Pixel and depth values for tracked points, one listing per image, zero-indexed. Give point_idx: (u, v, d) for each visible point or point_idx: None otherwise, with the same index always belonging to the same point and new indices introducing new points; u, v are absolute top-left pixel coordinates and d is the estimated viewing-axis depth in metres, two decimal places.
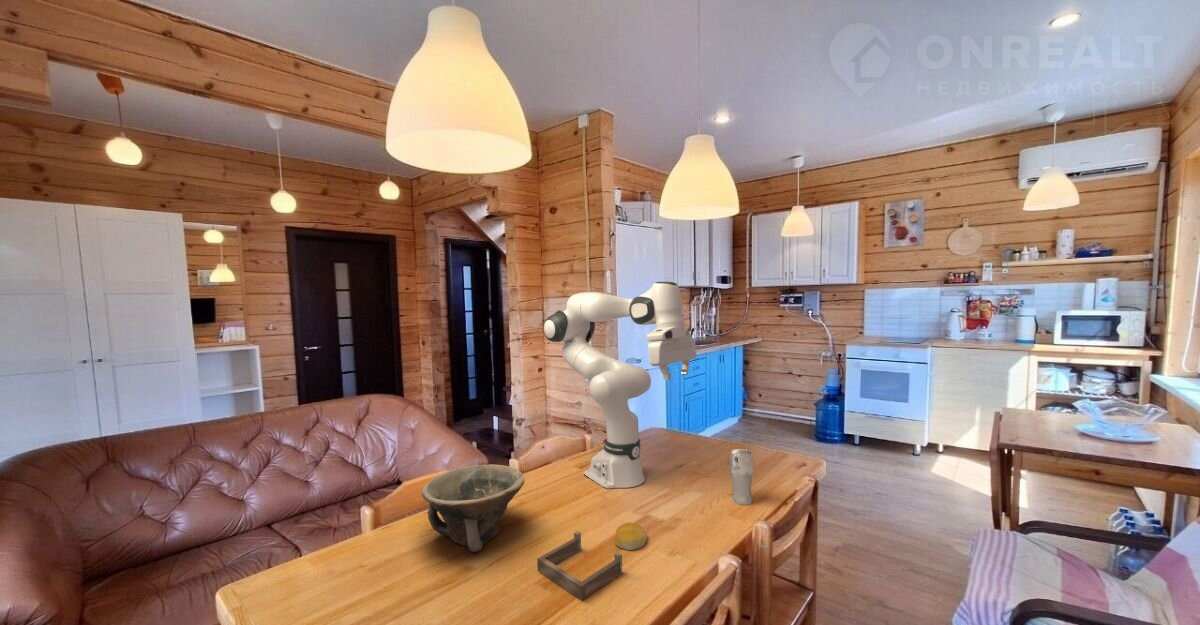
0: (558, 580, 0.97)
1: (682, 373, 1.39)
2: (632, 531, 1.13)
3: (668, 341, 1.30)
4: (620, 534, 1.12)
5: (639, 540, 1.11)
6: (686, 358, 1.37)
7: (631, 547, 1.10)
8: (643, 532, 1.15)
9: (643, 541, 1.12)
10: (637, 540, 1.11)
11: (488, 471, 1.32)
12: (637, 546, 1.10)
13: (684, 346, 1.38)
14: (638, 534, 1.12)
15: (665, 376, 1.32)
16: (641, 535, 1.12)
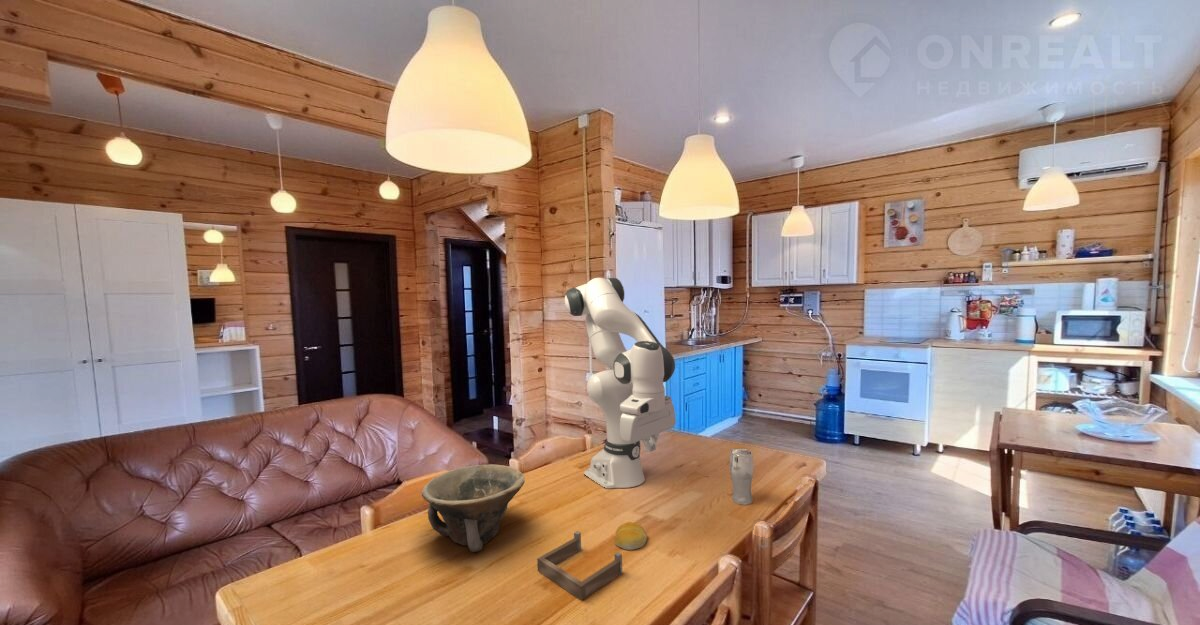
0: (558, 580, 0.97)
1: None
2: (632, 531, 1.13)
3: (643, 415, 1.15)
4: (620, 533, 1.12)
5: (639, 540, 1.11)
6: (663, 429, 1.22)
7: (631, 547, 1.10)
8: (643, 532, 1.15)
9: (643, 541, 1.12)
10: (638, 540, 1.11)
11: (488, 471, 1.32)
12: (637, 546, 1.11)
13: (662, 416, 1.22)
14: (638, 534, 1.12)
15: (646, 448, 1.20)
16: (641, 535, 1.13)
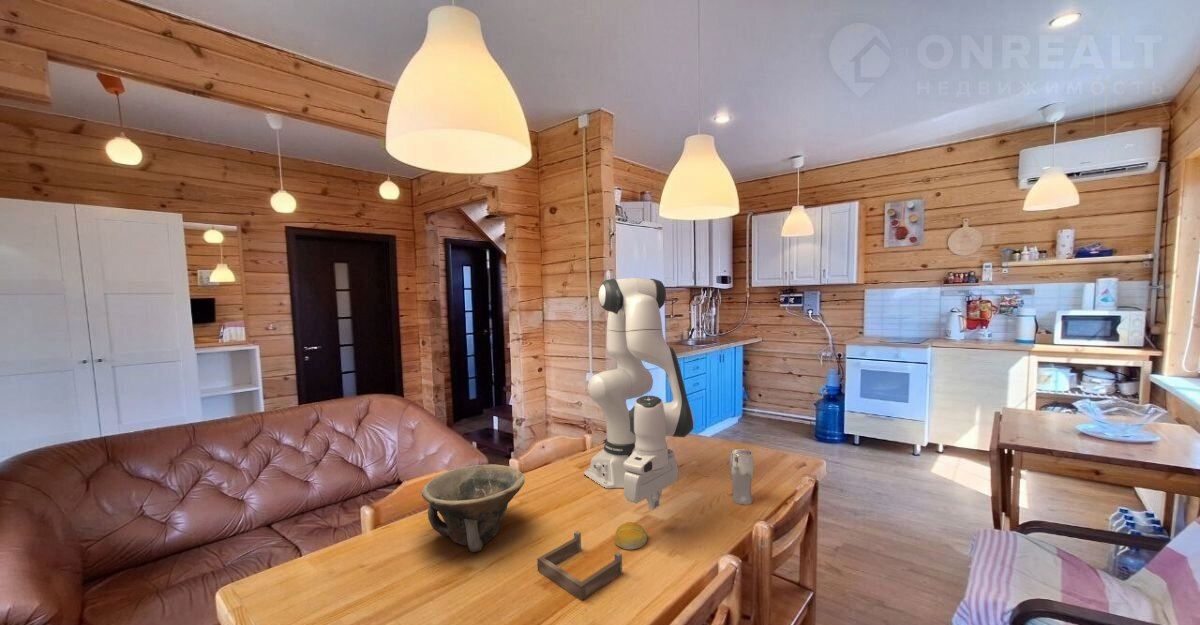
0: (558, 580, 0.97)
1: None
2: (632, 531, 1.13)
3: (647, 474, 1.14)
4: (620, 533, 1.13)
5: (639, 540, 1.11)
6: (666, 484, 1.22)
7: (631, 547, 1.10)
8: (643, 532, 1.15)
9: (643, 541, 1.12)
10: (638, 540, 1.11)
11: (488, 471, 1.32)
12: (637, 546, 1.11)
13: (665, 471, 1.22)
14: (638, 534, 1.12)
15: (650, 505, 1.19)
16: (641, 535, 1.13)
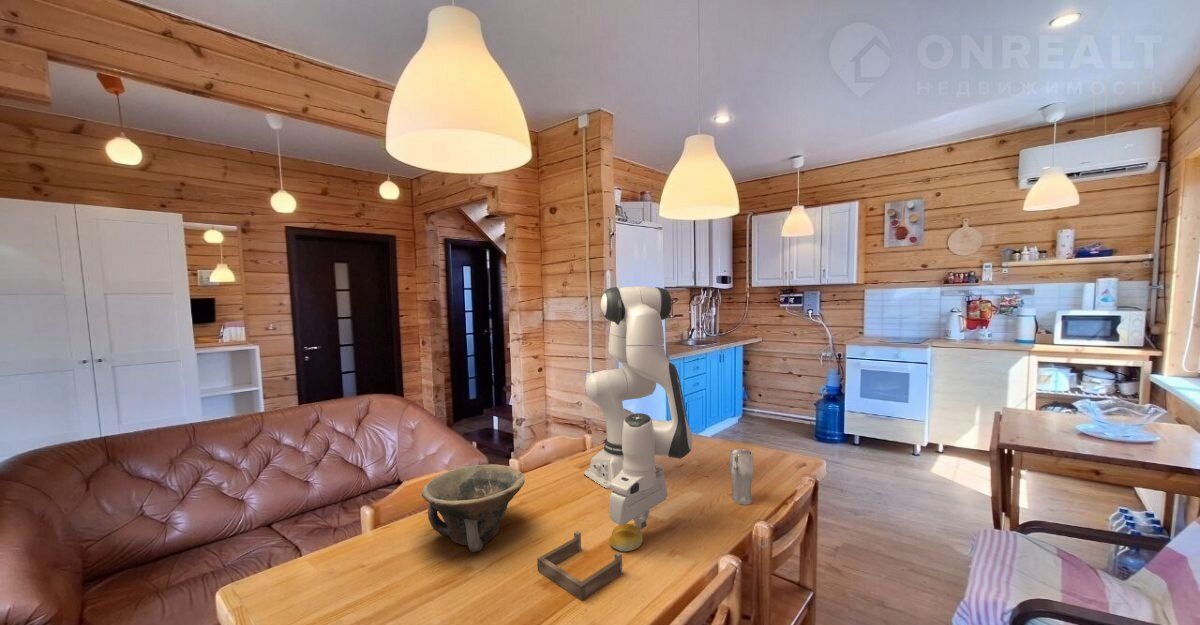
0: (558, 580, 0.97)
1: None
2: (627, 533, 1.12)
3: (633, 495, 1.11)
4: (615, 534, 1.12)
5: (634, 542, 1.10)
6: (654, 504, 1.19)
7: (626, 548, 1.09)
8: (639, 534, 1.14)
9: (638, 543, 1.11)
10: (632, 542, 1.10)
11: (488, 471, 1.32)
12: (632, 547, 1.09)
13: (653, 490, 1.19)
14: (633, 535, 1.11)
15: (637, 525, 1.17)
16: (636, 536, 1.11)
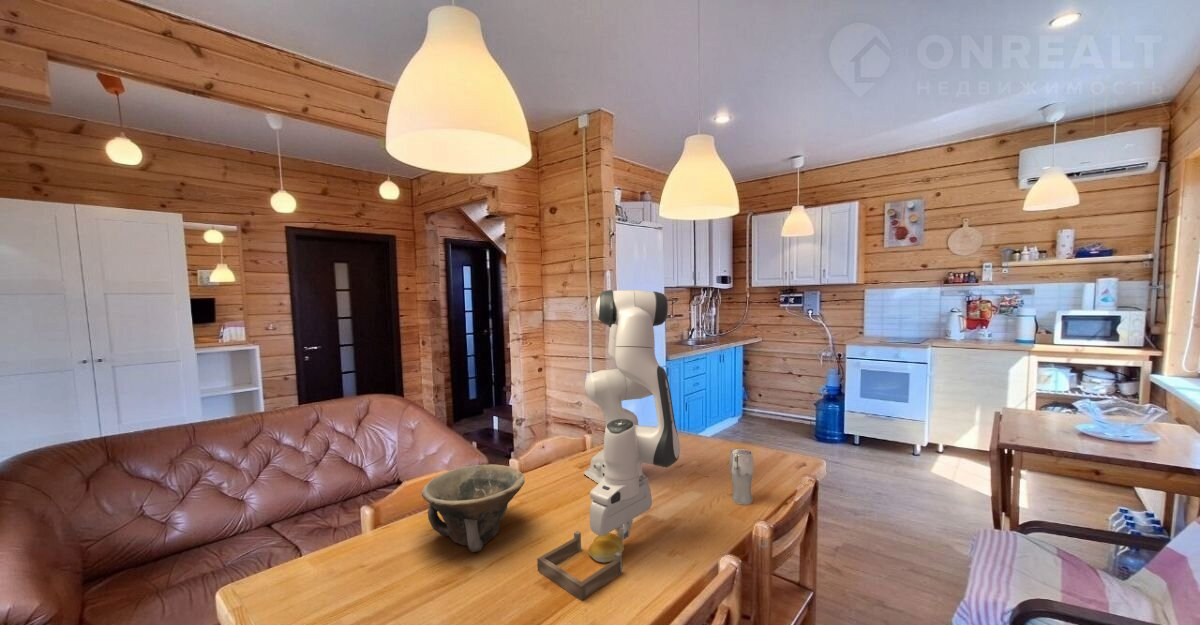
0: (558, 580, 0.97)
1: None
2: (606, 543, 1.07)
3: (615, 505, 1.07)
4: (594, 544, 1.08)
5: (612, 553, 1.05)
6: (638, 514, 1.14)
7: (602, 559, 1.05)
8: (620, 545, 1.09)
9: None
10: (609, 553, 1.05)
11: (488, 471, 1.32)
12: (609, 559, 1.05)
13: (637, 499, 1.14)
14: (612, 546, 1.07)
15: (619, 536, 1.12)
16: (615, 548, 1.07)
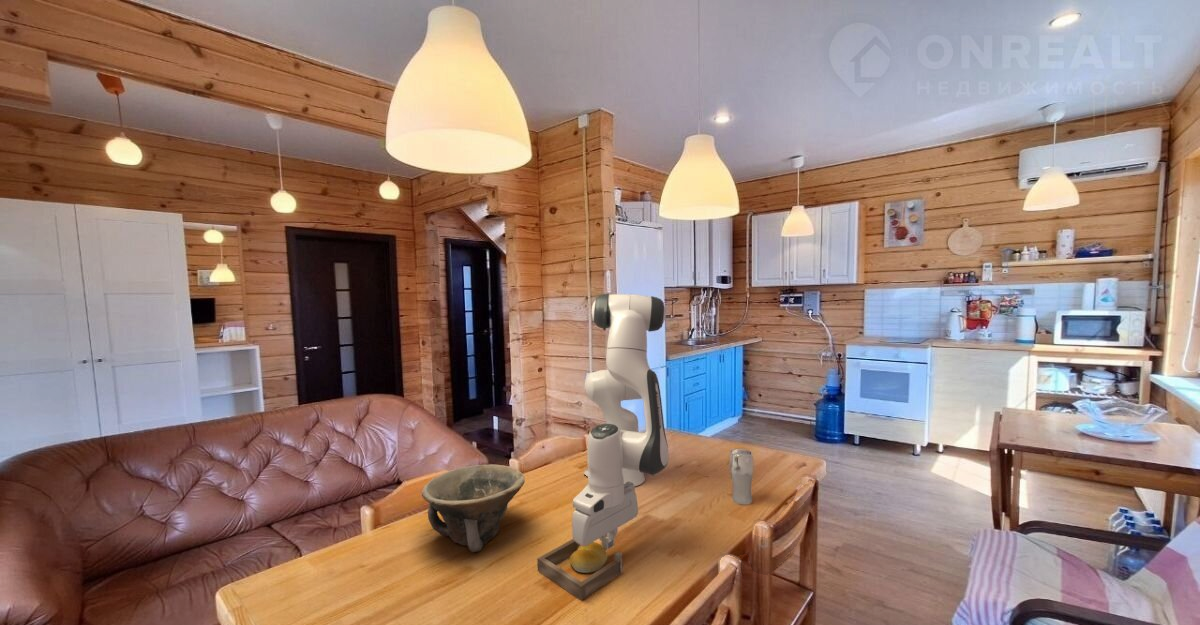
0: (558, 580, 0.97)
1: None
2: (587, 553, 1.04)
3: (598, 513, 1.02)
4: (575, 553, 1.04)
5: (592, 564, 1.01)
6: (623, 522, 1.10)
7: (582, 570, 1.01)
8: (602, 555, 1.05)
9: (597, 565, 1.02)
10: (590, 564, 1.01)
11: (488, 471, 1.32)
12: (589, 570, 1.01)
13: (622, 507, 1.10)
14: (593, 557, 1.03)
15: (604, 545, 1.08)
16: (597, 558, 1.03)
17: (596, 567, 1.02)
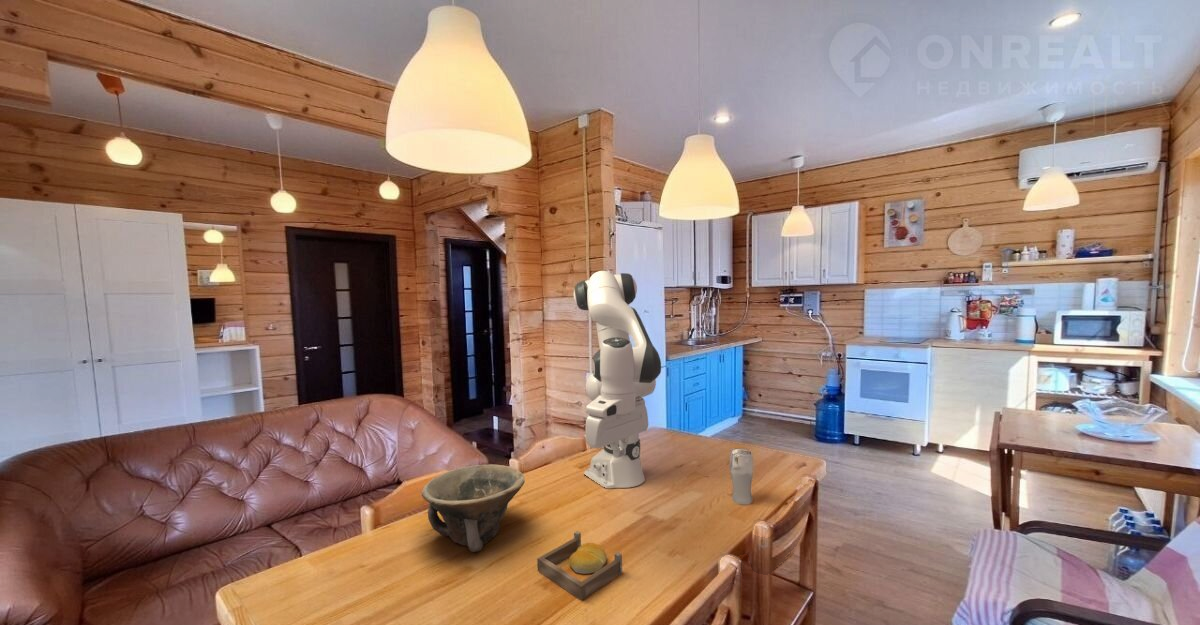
0: (558, 580, 0.97)
1: None
2: (587, 554, 1.03)
3: (610, 418, 1.06)
4: (574, 554, 1.04)
5: (591, 565, 1.01)
6: (634, 433, 1.13)
7: (581, 571, 1.01)
8: (602, 556, 1.04)
9: (596, 567, 1.02)
10: (589, 565, 1.01)
11: (488, 471, 1.32)
12: (588, 571, 1.01)
13: (633, 418, 1.13)
14: (592, 558, 1.03)
15: (615, 453, 1.11)
16: (596, 560, 1.02)
17: (595, 568, 1.02)
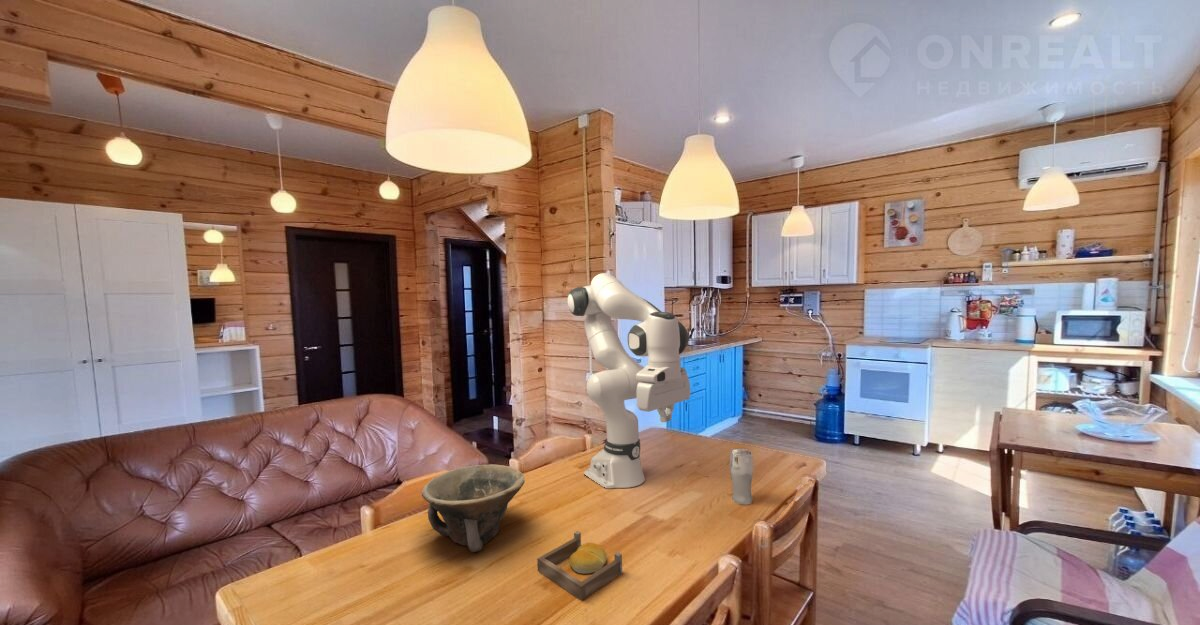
0: (558, 580, 0.97)
1: None
2: (587, 553, 1.03)
3: (660, 384, 1.15)
4: (574, 554, 1.04)
5: (591, 565, 1.01)
6: (679, 400, 1.22)
7: (581, 571, 1.01)
8: (602, 556, 1.04)
9: (597, 566, 1.02)
10: (589, 565, 1.01)
11: (488, 471, 1.32)
12: (588, 571, 1.01)
13: (678, 386, 1.23)
14: (592, 558, 1.03)
15: (662, 418, 1.20)
16: (596, 559, 1.03)
17: (595, 568, 1.02)
